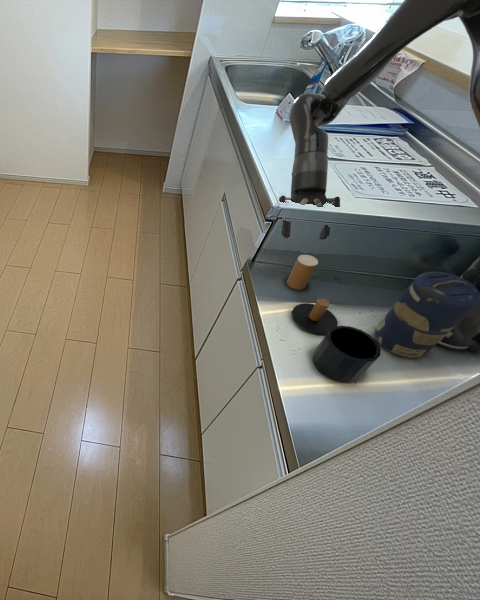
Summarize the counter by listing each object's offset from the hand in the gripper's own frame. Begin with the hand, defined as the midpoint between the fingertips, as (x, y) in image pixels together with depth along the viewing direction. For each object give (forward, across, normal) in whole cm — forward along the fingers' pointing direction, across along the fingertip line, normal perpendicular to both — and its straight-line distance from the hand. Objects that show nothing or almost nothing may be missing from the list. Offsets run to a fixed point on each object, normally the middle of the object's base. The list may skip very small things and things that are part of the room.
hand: (304, 238), depth 87 cm
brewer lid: (+20, 0, -6) cm, 21 cm away
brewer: (+30, +1, -15) cm, 33 cm away
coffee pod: (+12, 0, +3) cm, 12 cm away
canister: (+24, +16, -9) cm, 31 cm away
